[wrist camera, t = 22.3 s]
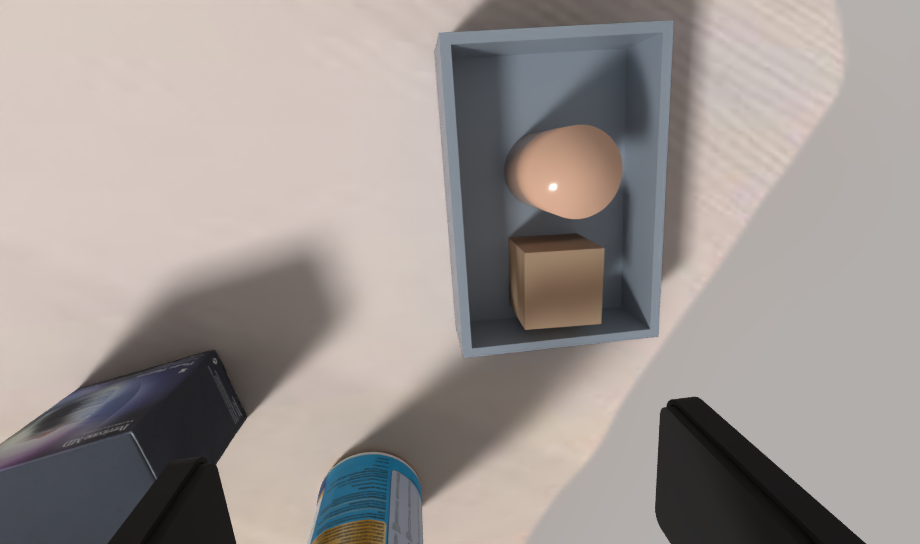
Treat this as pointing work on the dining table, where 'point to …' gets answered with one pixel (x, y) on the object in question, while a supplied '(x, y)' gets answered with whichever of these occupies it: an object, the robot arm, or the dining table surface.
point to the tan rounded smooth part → (565, 170)
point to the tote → (538, 109)
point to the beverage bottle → (369, 502)
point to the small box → (111, 449)
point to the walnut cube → (555, 280)
